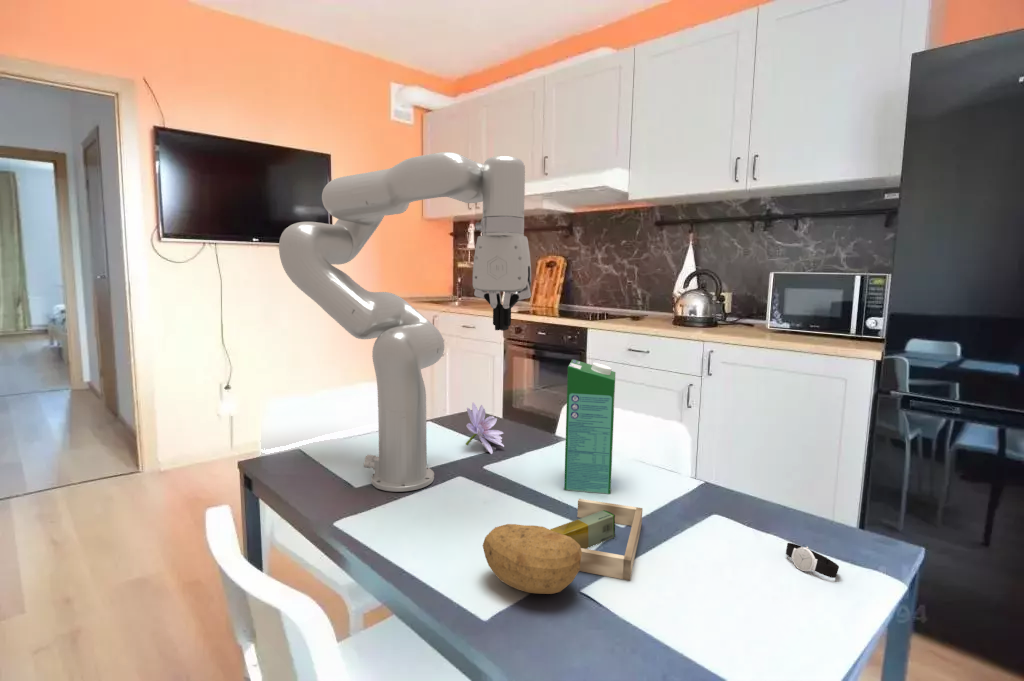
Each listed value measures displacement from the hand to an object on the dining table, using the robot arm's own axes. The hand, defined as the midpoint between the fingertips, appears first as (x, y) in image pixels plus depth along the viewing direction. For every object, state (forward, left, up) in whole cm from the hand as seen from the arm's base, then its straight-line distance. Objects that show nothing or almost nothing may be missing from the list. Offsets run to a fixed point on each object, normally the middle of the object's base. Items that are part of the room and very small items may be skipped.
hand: (501, 329), depth 100 cm
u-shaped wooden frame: (+21, -12, -32) cm, 40 cm away
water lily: (-13, +26, -32) cm, 43 cm away
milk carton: (+15, +12, -32) cm, 38 cm away
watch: (+52, -8, -32) cm, 62 cm away
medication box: (+19, -13, -33) cm, 40 cm away
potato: (+14, -27, -32) cm, 45 cm away
